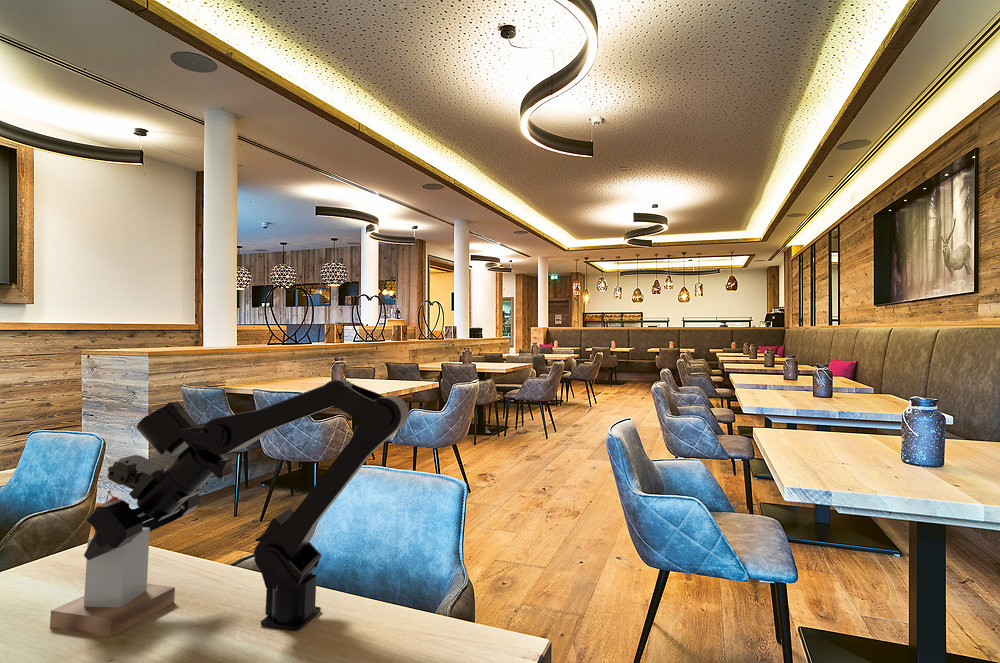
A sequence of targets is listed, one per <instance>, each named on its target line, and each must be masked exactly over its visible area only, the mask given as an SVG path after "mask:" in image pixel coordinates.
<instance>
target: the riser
mask: <svg viewBox="0 0 1000 663" xmlns="http://www.w3.org/2000/svg"><path fill="white" fill-rule="evenodd" d="M175 593H176V587H175V586H169V585H162V584H154V583H152V584H151V583H147V590H146V592H144V593H142V594H141V595H139V596H138V597H136V598H135V599H133V600H132V601H130V602H129V603H127V604H126V605H124V606H122V607H121V608H120V607H84V595H83V596H80V597H78V598H77V599H74V600H71V601H69V602H67V603H65V604H63V605H60V606H57V607H55V608H53V609H51V610H50V618H49V620H50V621H49V622H50V623H49V628H50V629H57V630H64V631H69V632H75V633H76V632H77V633H82V634H89V635H94V636H101V637H106V638H112V637H114V636H116V635H118V634H119V633H121V632H123V631H125V630H126V629H128V628H130V627H132V626H134V625H136V624H138V623H139V622H141V621H143V620H145V619H147V618H148V617H150V616H153V615H154V614H156V613H157V612H159V611H162V610H163V609H165V608H167V607H168V606H169V607H170V606H171V605H173V604H175V598H176V597H175V596H176V595H175ZM172 603H173V604H172Z"/></svg>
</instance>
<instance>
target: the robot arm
mask: <svg viewBox="0 0 1000 663" xmlns="http://www.w3.org/2000/svg"><path fill="white" fill-rule="evenodd" d="M333 407H335V408H337V409H339V410H340V411H342V412H344V413H345V414H347V415H348V416H349V417H351V418H353V419H355V420H357V423H356V425H355V428H354V430H353V433H352V436H351V438H350V440H349V442H348V443H347V444H346V446H345V447H344V448H343V449H342V450H341V452H340V453H339V454H338V456H337V457H336V458H335V459H334V461H333V462H332V463H331V465H330V466H329V467H328V468H327V470H326V471H325V472H324V474H323V475H322V476H321V477H320V479H318V481H317V482H316V483H315V485H314V486H313V487H312V489H311V490H310V491H309V493H307V495H306V496H305V498H304V499H303V500H302V501H301V503H300V504H299V505H298V506H297V507H296V509H295V510H294V511H293V509H291V507H288V508H287V509H285V510H284V511H282V512H280V513H279V514H277V515H276V516H274V517H273V518H272V519H271V521H270V523H269V524H268V525H267V528H266V529H265V531H264V532H263V533H262V534H261V535H259V536H258V537H257V538H256V539H255V541H256V542H258V543H257V544H256V546H255V548H254V550H253V553H252V554H253V556H254V562H255V566H256V567H257V568H258V569H259V571H260V573H261V576H262V579H263V582H264V586H265V588H266V590H265V592H266V593H265V594H266V595H265V596H266V597H265V617H263V619H262V620H260V625H261V626H264V627H272V628H278V629H285V630H292V631H298V630H300V629H301V628H303V627H304V626H305V625H306V624H307V623H308V622H310V621H311V620H312V619H313V618H314V617H316V615H317V614H319V613H320V612H322V610H321V609H322V608H321V606H316V598H317V597H316V596H317V594H316V593H317V575H316V574H313V573H312V572H313V571H314V570H315V569H316V568H317V567H318V566H319V564H320V561H321V558H322V553H320V552H319V550H318V549H317V548H316V547H315V546H314V545H313V544H312V543H311V541H312V538H313V536H314V535H315V532H316V530H317V526H318V524H319V522H320V520H321V519H322V517H323V516H324V515H325V514H326V512H328V509H330V507H331V506H332V505H333V504H334V502H335V501H336V499H338V497H339V496H340V495H341V493H342V492H343V491H344V489H345V488H346V487H347V486H348V484H349V483H350V482H351V481H352V480H353V478H354V477H355V476H356V474H357V473H358V472H359V471H360V470H361V468H362V467H363V465H364V464H365V463H366V462H367V460H368V459H369V458H370V456H371V455H372V454H373V452H375V451H376V450H377V449H379V448H380V447H381V446H382V445H383V444H384V443H386V442H387V441H388V440H390V437H392V436H393V435H394V434H395V433H396V432H398V431H399V430H400V429H401V428H402V427H403V426H404V425H405V424H406V423H407V421H408V418H409V415H410V414H409V407H408V405H407V403H406V401H405V400H404V399H403V398H401V397H400V396H397V395H393V394H392V395H390V394H389V395H386V396H384V395H383V394H380V393H378V392H375V391H373V390H370V389H367V388H364V387H362V386H359V385H357V384H354V383H352V382H351V381H349V380H347V379H343V378H341V379H332V380H330V381H328V382H326V383H325V384H323V385H321V386H318V387H315V388H313V389H310V390H307V391H305V392H302V393H299V394H297V395H294V396H292V397H289V398H286V399H283V400H281V401H279V402H276V403H273V404H270V405H268V406H265V407H263V408H262V407H261V408H259V409H255V410H250V411H244V412H240V413H233V414H228V415H223V416H218V417H214V418H211V419H209V420H208V421H207V422H204V423H202V422H201V423H197V422H196V421H195V420H194V419H193V417H192V416H191V415H190V414H189V413H188V412H187V411H186V410H185V408H184V406H183V405H182V404H181V403H180V402H179V400H176V401H169V402H168V403H167V404H166V405H164V406H162V407H160V408H158V409H156V410H155V411H153V412H151V413H150V414H147V415H145V416H144V417H143V418H142V419H141V420H139V422H138V423H137V425H136V427H135V428H136V429H137V431H138V432H139V433H140V434H141V435H142V436H143V437H144V439H145V440H146V441H147V442H148V443H149V444H150V445H151V446H152V448H153V449H154V450H155V451H156V452H157V453H158V454H159V455H160V456H166V455H168V454H169V455H170V456H172V457H173V456H177V455H178V454H179V455H178V456H177V457H176V458H175V459H174V460H173V461H172V462H170V463H169V464H168V466H166V467H165V468H163V467H162V466H161V465H160V464H158V463H156V462H154V461H152V460H151V459H149V458H146V457H145V456H142V455H138V454H134V455H130V456H126V457H123V458H122V457H121V458H118V460H117V461H114V462H113V464H112V466H109V467H108V468H107V472H108V473H107V479H108V480H109V481H111V482H113V483H115V484H117V485H118V486H124V487H126V488H128V489H131V491H130V492H129V493H128V495H129V496H130V497H131V498H132V500H137V501H136V505H137V507H136V508H134V509H132V508H131V507H130V505H129V506H128V505H127V504H126V503H125V502H124V501H125V500H124V501H123V499H122V500H114V501H111V502H108V503H106V504H104V503H103V504H101V505H98V506H96V507H94V508H93V510H91V512H89V514H87V517H86V521H87V522H88V523H89V524H90V526H92V528H93V529H94V535H93V536H92V537H93V538H92V540H91V542H90V544H89V546H88V545H87V546H88V548H86V550H85V552H84V554H83V556H84V558H85V559H86V561H87V560H91V559H93V558H95V557H98V556H100V555H102V554H105V553H107V552H109V551H112V550H114V549H116V548H119V547H121V546H123V545H125V544H127V543H129V542H131V541H132V539H134V538H135V537H137V536H138V535H139V534H140V533H141V532H142V530H143V527H144V528H150V532H152V531H154V530H156V529H159V528H161V527H163V526H166V525H168V524H170V523H172V522H175V521H177V520H178V519H181V518H183V517H185V516H186V515H187V514H190V513H192V512H193V511H194V510H195V509H196V508H198V507H199V505H200V504H201V503H200V502H201V496H200V495H199V494H198V493H200V492H201V490H200V487H202V485H203V484H204V483H206V482H207V480H209V479H210V478H211V477H212V476H213V475H214V476H215V477H216V478H217V479H218V480H220V479H223V478H226V477H228V476H230V475H232V474H234V467H233V460H234V459H233V458H226V457H224V456H223V455H226V454H229V453H231V452H235V451H238V450H241V449H244V448H247V447H248V446H249V445H252V444H253V443H255V442H256V441H258V440H260V439H262V438H263V437H265V436H266V435H268V434H269V433H270V432H272V431H274V430H275V429H277V428H280V427H283V426H286V425H288V424H291V423H294V422H295V421H299V420H301V419H304V418H306V417H309V416H312V415H315V414H317V413H320V412H322V411H326V410H328V409H330V408H333ZM182 507H184V508H182ZM95 530H96V532H95Z"/></svg>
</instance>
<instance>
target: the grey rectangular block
mask: <svg viewBox="0 0 1000 663" xmlns="http://www.w3.org/2000/svg"><path fill="white" fill-rule="evenodd" d="M150 532H151V531H150V528H144V527H143V530H142V532H141V533H140V534H139V535H138V536H137V537H135V538H134V539H132V541H131V542H129V543H127V544H125V545H123V546H121V547H119V548H116V549H114V550H112V551H109V552H107V553H105V554H102V555H100V556H98V557H95V558H93V559H91V560H87V559H86V567H85V580H84V581H85V582H84V595H83V596H84V607H120V608H121V607H122V606H124V605H126V604H127V603H129V602H130V601H132V600H133V599H135V598H136V597H138V596H139V595H141V594H142V593H144V592H146V590H147V584H148V569H149V568H148V567H149V554H150V553H149V551H150V549H149V548H150V536H151V535H150V534H151V533H150ZM92 538H93V536H91V537H89V538H87V548H88V546H89V544H90V542H91V540H92ZM87 548H86V549H87Z"/></svg>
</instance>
